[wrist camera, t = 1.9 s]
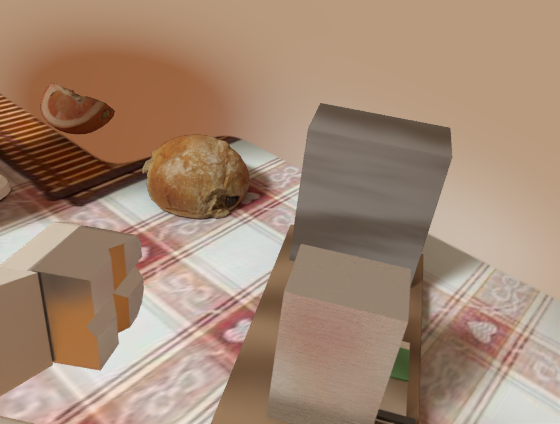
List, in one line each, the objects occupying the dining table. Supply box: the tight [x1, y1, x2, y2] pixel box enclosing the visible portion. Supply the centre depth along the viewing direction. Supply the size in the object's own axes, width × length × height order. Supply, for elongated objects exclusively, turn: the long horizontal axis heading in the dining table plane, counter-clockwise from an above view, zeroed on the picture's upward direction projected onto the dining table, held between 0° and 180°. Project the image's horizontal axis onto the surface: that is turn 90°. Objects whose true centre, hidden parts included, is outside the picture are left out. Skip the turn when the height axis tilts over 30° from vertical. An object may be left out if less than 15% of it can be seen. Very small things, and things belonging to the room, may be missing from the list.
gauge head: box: [266, 244, 415, 424], centre depth 31 cm, size 7×9×10 cm
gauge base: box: [211, 103, 452, 424], centre depth 35 cm, size 22×12×14 cm, turn 166°
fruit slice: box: [40, 83, 115, 134], centre depth 60 cm, size 8×7×5 cm
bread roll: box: [142, 134, 250, 219], centre depth 52 cm, size 10×10×8 cm
